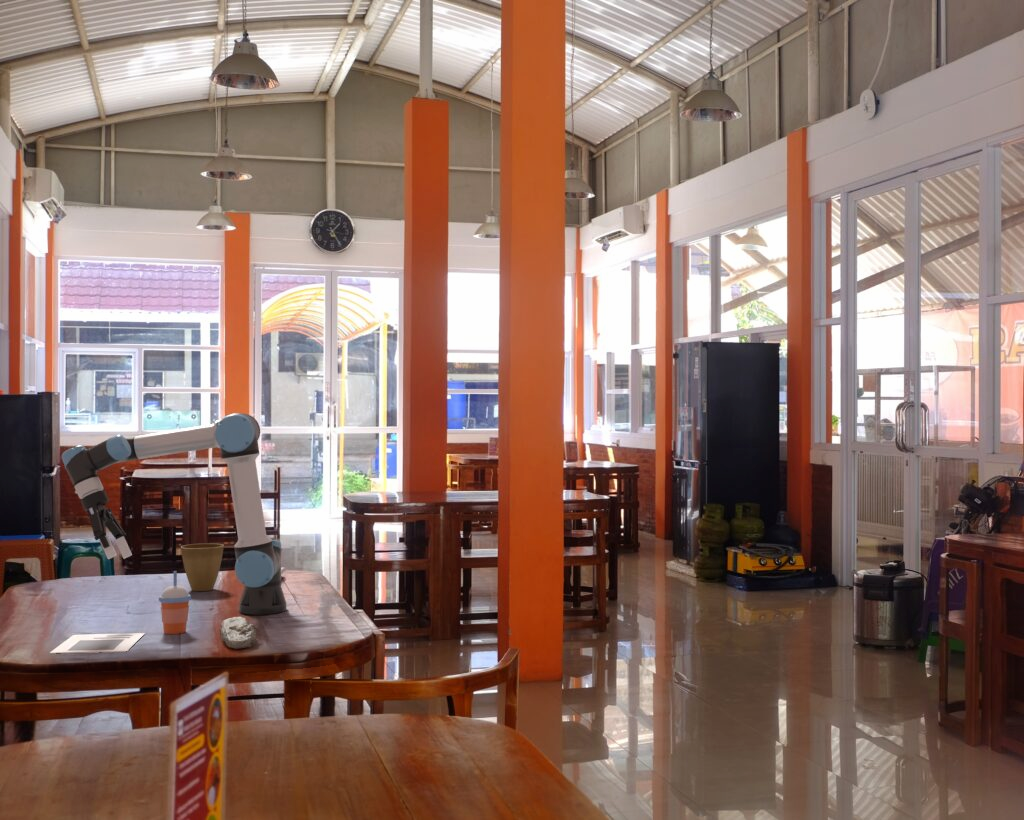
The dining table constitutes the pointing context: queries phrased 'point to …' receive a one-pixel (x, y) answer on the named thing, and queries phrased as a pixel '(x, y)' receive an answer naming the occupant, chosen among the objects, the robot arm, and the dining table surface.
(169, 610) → the cup with straw
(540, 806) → the dining table surface
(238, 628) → the elongated rock
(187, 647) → the dining table surface
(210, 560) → the plant pot
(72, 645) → the picture frame
